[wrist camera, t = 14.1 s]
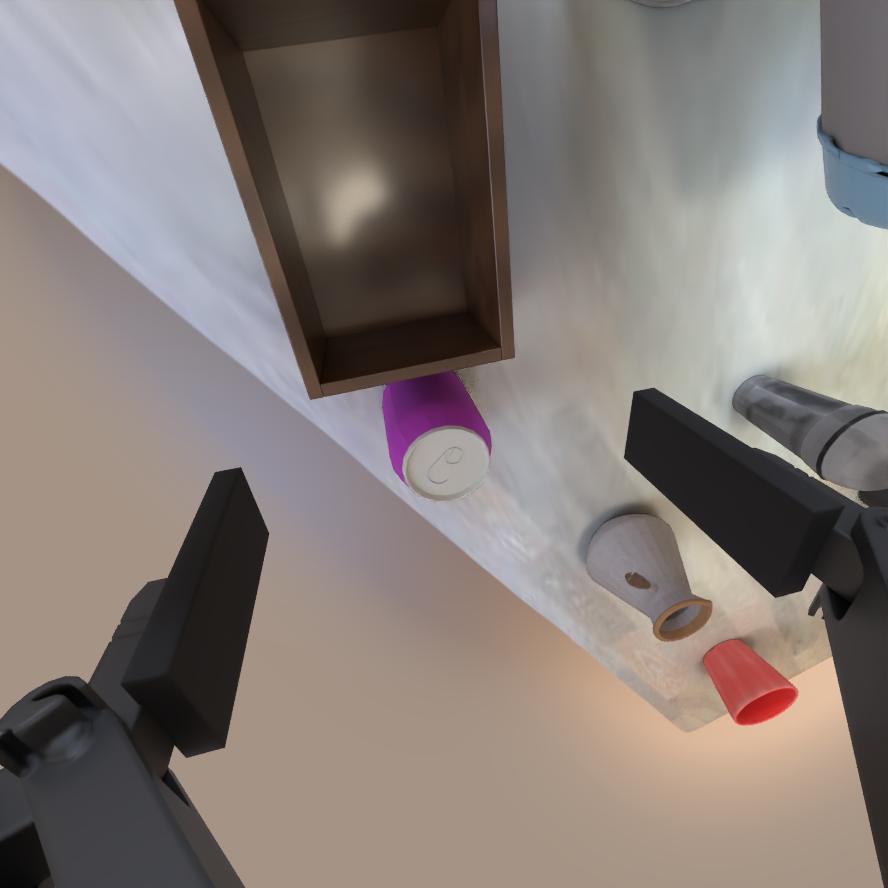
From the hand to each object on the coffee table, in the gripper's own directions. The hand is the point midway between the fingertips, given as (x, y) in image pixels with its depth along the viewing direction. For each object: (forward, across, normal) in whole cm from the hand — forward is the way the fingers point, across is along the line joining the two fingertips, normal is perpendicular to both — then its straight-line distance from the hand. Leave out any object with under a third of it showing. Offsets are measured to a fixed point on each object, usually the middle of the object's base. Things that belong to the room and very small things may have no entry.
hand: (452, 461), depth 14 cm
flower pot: (+24, +49, -69) cm, 88 cm away
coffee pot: (+24, +22, -29) cm, 44 cm away
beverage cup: (+24, +38, -15) cm, 48 cm away
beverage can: (+25, +2, -9) cm, 26 cm away
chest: (+24, 0, +7) cm, 25 cm away
